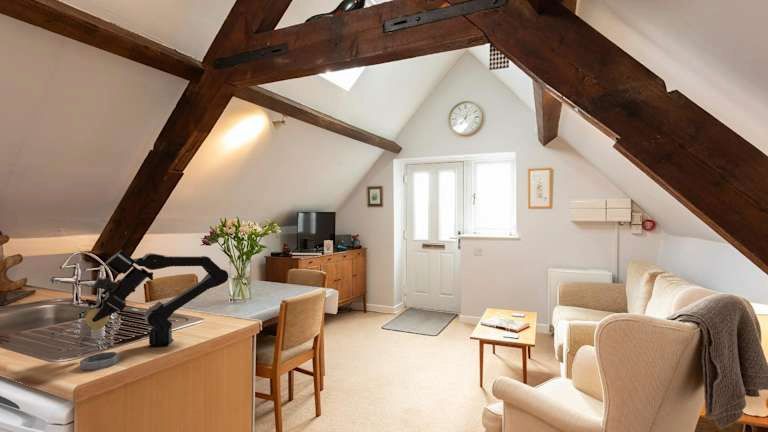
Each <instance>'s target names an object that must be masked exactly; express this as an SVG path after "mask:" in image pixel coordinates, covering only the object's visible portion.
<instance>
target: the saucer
mask: <svg viewBox="0 0 768 432" xmlns="http://www.w3.org/2000/svg"><path fill="white" fill-rule="evenodd" d="M119 360H120V353H119V352H116V351H107V352H106V351H105V352H99V353H95V354H90V355H88V356H85V357H84V358H83V359H82V358H81V360H79V367H80V368H81V370H82V371H97V370H102V369H106V368H110V367H112V366H114V365H116V364H117V363H118V362H119Z"/></svg>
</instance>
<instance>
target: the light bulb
mask: <svg viewBox="0 0 768 432" xmlns="http://www.w3.org/2000/svg"><path fill="white" fill-rule="evenodd" d="M96 308H97V307H96ZM96 308H93V309H91V310H90V311H89V312H87V314H86V316H85V322H86V324H87V326H88V327H90V328H91V330H90V335H91V338H92V339H94V340H96V339H97V340H98V339H101V338H104V336H105V335H106V333H105V332H106V329H105V326H106V324H107V323H108V321H109V318H110V315H109V316H106V317H104V318H102V319H100V320H98V321H96V322H93V321H92V319H93V318H94V316H95V315H96V314H97V312H98V311H99V310H100V308H97V309H96Z"/></svg>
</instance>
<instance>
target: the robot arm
mask: <svg viewBox="0 0 768 432" xmlns="http://www.w3.org/2000/svg"><path fill="white" fill-rule="evenodd" d="M104 265H105V267H107V268H108V269H110V270H112V271H113V272H115V273H116V274H118V275H121V274H123V275H124V276H123V277H122V278H121V279H120V278H119V279H117V280H116V281H114V280H111V278H108V277H104V278H102V277H99V276H98V277H96V280H95V281H94V284H93V288H95V289H102V291H100V293H101V294H100V295H99V298H100V302H99V304H97V306H96V307H95V309H97V308H100V310H99V311H98V312H97V314H96V315H95V316H94V318H93V319H92V321H93V322H96V321H98V320H100V319H102V318H104V317H106V316H109V317H110V315H113V314H115V313H118V312H122V311H123V310H124V309H125V308H126V307H127V304H126V301H127V298H128V297H129V296H130V295H131V294H133V293H135V292H136V289H137V288H138V287H139V286H140V285H141V284H142V283H143V282H145V280H146V279H149V280H150V281H153V280H154V272H152V271H155V270H160V269H165V268H170V267H202V269H204V271H205V272H206V273H207V274H206V275H205V276H204V277H203V278H202V279H201V280H200V281H199V282H197V283H195V284H194V285H193V286H191V287H189V288H188V289H186V290H184V291H183V292H182V293H179V294H178V295H177V296H174V298H172V299H170V300H169V301H167V302H164V303H162V302H161V301H157V302H156V303H155V304H154V305H152V306H149V307H148V310H146V312H145V313H144V320H145V321H146V323H147V324H148V325H149V326H151V327H152V328H150V332H149V333H148V343H149V345H148V348H156V347H159V348H160V347H168V346H169V345H170V344H171V343H172V342H173V341H174V339H173V337H172V336H173V334H172V333H173V331H172V325H173V322H171V320H170V317H171V316H172V315H173V314H174V313H175V312H176V311H177V310H179V309H180V308H181V307H183V306H184V305H185V306H186V304H188V303H189V302H191V301H192V300H194V299H195V298H197V297H198V296H200V295H202V294H203V293H205V292H206V291H208V290H210V289H213V288H216V287H218V286H221V285H224V284H225V283H227V281H228V280H229V273H228V271H227V270H225V269H224V268H221V267H220V266H218V265H217V264H216V262H214V261H213V260H212V259H211V257H209V256H205V255H202V256H179V255H178V256H177V255H175V256H169V255H164V254H158V253H151V252H150V253H145V254H144V256H142V257H139V258H138V257H137V258H132V257H130V256H129V255H128V254H127V253H126V252H125V251H123V249H122V250H120V251H117V253H116V254H114V255H112V256H111V257H109V259H108V260H107V261H106V262H105V263H104ZM135 265H136V266H138V267H142V268H138V267H136V266H135ZM148 270H150V272H149V271H148Z"/></svg>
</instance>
